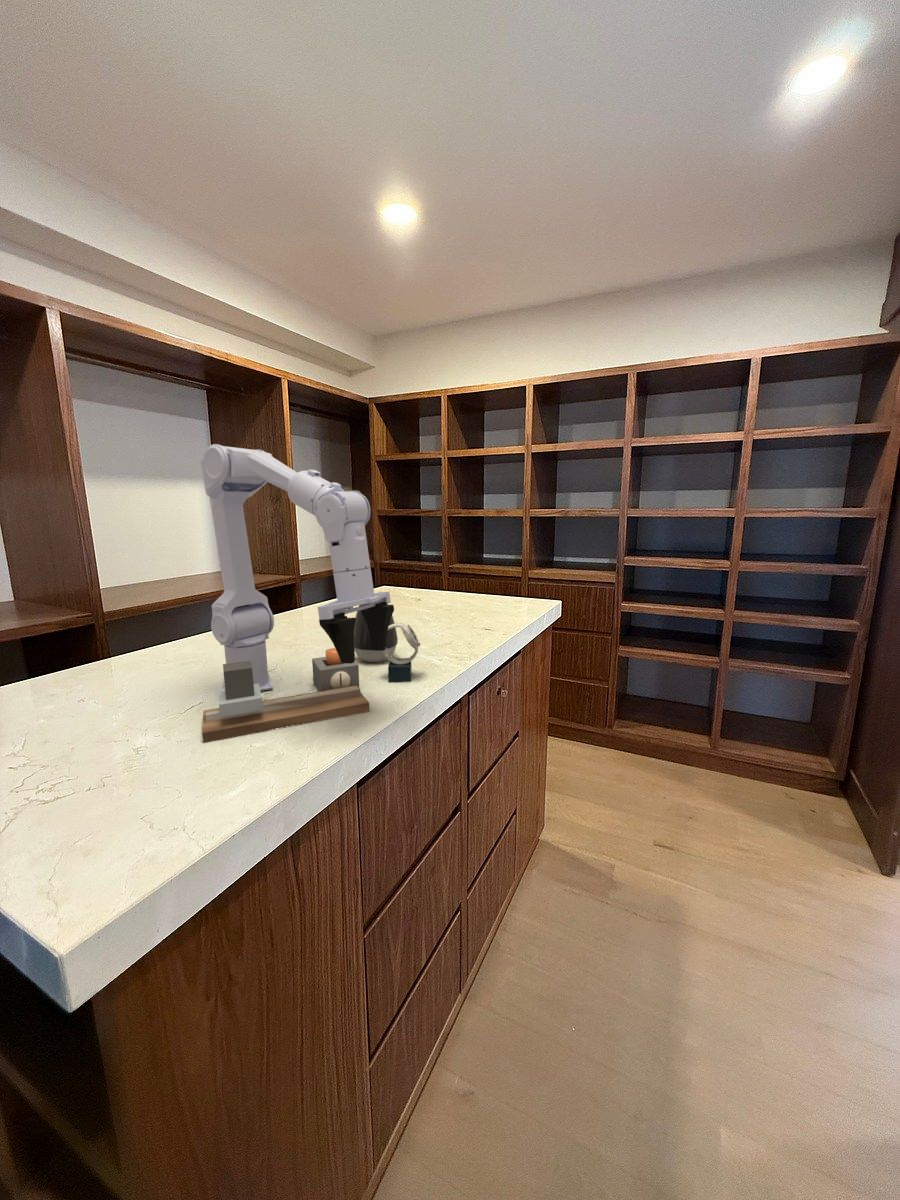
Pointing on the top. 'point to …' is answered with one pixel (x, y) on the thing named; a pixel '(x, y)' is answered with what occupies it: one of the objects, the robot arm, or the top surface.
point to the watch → (402, 666)
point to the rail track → (285, 713)
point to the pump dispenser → (364, 643)
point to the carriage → (239, 690)
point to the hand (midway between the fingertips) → (364, 656)
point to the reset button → (332, 657)
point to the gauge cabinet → (334, 674)
